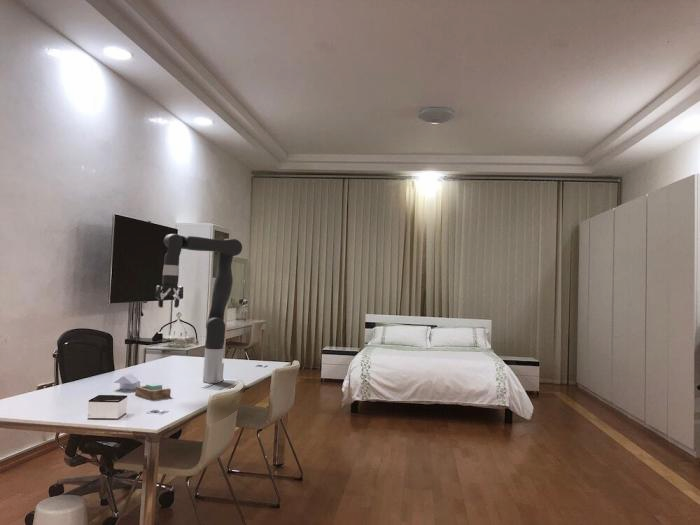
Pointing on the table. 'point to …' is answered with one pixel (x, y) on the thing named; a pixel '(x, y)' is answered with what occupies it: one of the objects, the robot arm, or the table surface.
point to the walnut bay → (152, 393)
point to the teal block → (153, 386)
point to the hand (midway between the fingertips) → (168, 307)
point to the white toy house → (128, 382)
